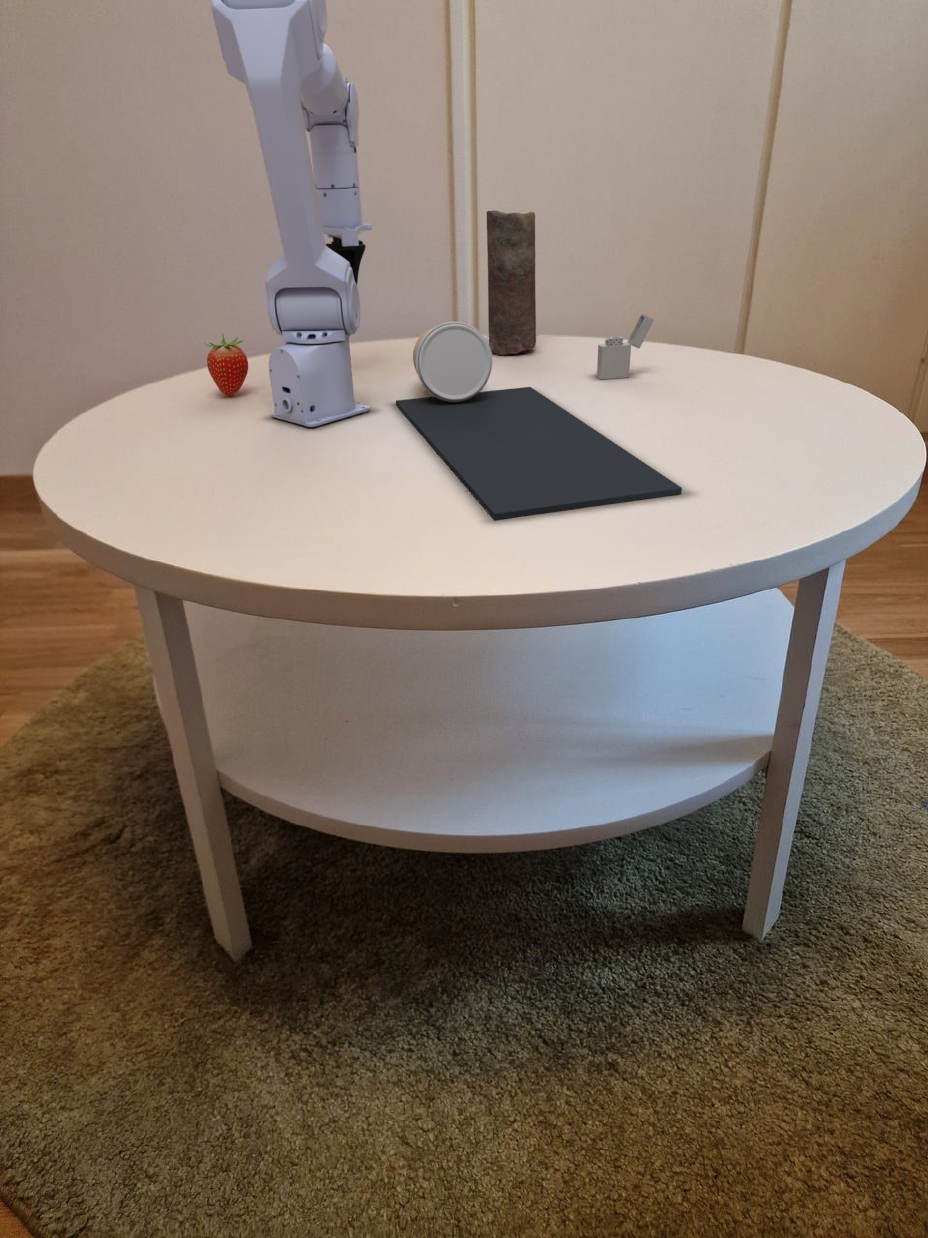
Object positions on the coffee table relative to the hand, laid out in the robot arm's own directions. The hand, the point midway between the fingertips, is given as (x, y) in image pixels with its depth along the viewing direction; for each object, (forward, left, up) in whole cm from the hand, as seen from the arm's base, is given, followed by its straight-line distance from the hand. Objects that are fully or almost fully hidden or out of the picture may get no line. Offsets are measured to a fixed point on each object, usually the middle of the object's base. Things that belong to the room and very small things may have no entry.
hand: (347, 299), depth 116 cm
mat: (-10, -38, -10) cm, 41 cm away
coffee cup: (+4, -14, -7) cm, 16 cm away
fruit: (-17, +5, -11) cm, 21 cm away
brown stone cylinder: (+26, -8, -11) cm, 29 cm away
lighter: (+22, -31, -11) cm, 39 cm away
